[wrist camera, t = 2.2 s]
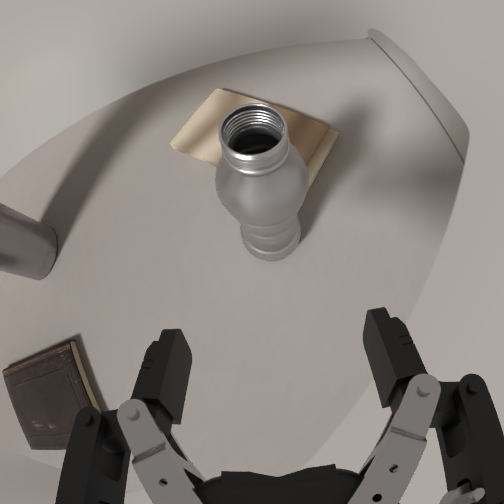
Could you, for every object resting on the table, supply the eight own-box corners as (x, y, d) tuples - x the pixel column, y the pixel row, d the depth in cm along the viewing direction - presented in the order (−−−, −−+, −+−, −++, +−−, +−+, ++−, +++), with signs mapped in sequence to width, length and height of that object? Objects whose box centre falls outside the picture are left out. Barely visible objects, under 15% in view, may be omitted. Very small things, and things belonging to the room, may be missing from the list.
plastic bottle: (291, 204, 33) (292, 76, 14) (306, 258, 31) (336, 168, 12) (238, 217, 34) (185, 101, 14) (251, 271, 32) (199, 201, 12)
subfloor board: (172, 147, 37) (169, 142, 36) (218, 93, 39) (216, 87, 38) (299, 205, 33) (300, 201, 32) (338, 136, 35) (339, 131, 33)
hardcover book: (119, 441, 29) (110, 446, 27) (39, 446, 29) (31, 449, 27) (77, 339, 33) (67, 339, 31) (9, 368, 33) (1, 369, 31)
